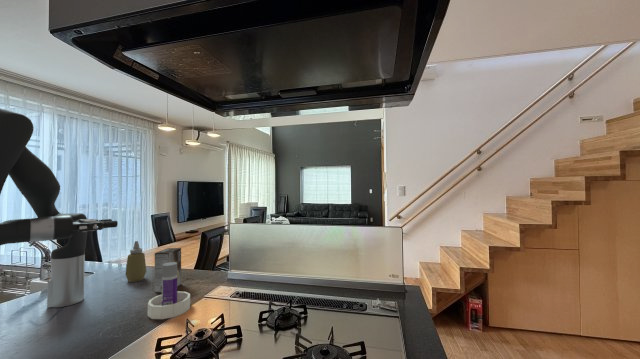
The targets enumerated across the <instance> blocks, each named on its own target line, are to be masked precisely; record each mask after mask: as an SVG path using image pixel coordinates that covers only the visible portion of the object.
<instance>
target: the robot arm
mask: <svg viewBox="0 0 640 359" xmlns="http://www.w3.org/2000/svg"><path fill="white" fill-rule="evenodd" d="M33 133H34V123H33V122H32V120H31V119H30V118H29V117H28V116H27V115H25V114H23V113H19V112H16V111H13V110H9V109H5V108H1V107H0V195H1V193H2V191H3V188H4V185H5V183H6V181H7V179H8V176H9V177H10V178H11V181H12V182H13V183H14V185H15V186H16V188H17V190H18V191H19V192H20V194H21V195H22V196H23V197H24V198H25V200H26V201H27V202H28V204H29V205H30V207H31V208H32V210H33V212H34V213H35V215H36V217H33V218H17V219H10V220H9V219H8V220H5V221H4V220H3V221H2V222H1V223H0V246H4V245H8V244H19V243H20V244H22V243H28V242H46V241H54V240H64V239H68V241H67V243H66V244H65V245H63V246H61V247H57V248H55V249H53V250H52V251H51V252H50V253H51V254H50V279H49V280H48V281H47V292H46V293H47V294H46V296H47V297H46V298H47V299H46V308H62V307H68V306H72V305H75V304H77V303H80V302H82V301H84V298H85V266H86V264H85V262H86V261H85V260H86V258H85V257H86V255H85V254H86V247H87V238H88V232H94V231H101V230H104V229H109V228H118V224H119V223H118V221H117V220H112V219H111V218H107V219H97V218H94V219H93V218H87V216H86V215H85V213H79V212H77V213H62V212H59V211H58V209H57V207H56V202H57V199H58V197H59V194H60V191H61V184H60V182H59V181H58V179H57V177H56V176H55V174H54V172H53V171H52V169H51V168H50V167H49V166H48V165H47V164H46V163H45V162H43V161H42V160H41V159H40V157H38V156H37V155H35V154H34V153H33V152H32V150H30V149H29V148H28V147H27V146H28V144H29V142H30V140H31V137H32V136H33Z"/></svg>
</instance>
